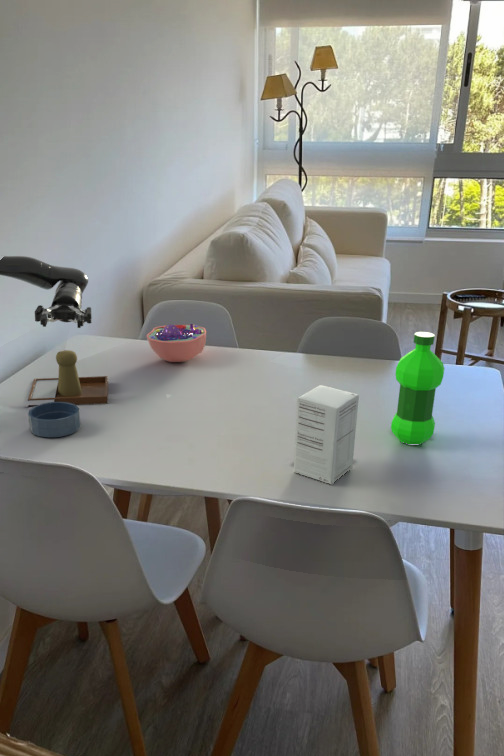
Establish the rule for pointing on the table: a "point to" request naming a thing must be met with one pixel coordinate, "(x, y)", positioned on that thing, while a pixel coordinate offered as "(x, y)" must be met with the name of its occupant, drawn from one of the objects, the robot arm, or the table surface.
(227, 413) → the table surface
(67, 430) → the bowl
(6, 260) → the robot arm
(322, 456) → the supplement box
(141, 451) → the table surface
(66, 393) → the cork
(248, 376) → the table surface
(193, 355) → the cell model
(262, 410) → the table surface
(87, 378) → the tray
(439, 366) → the plastic bottle
